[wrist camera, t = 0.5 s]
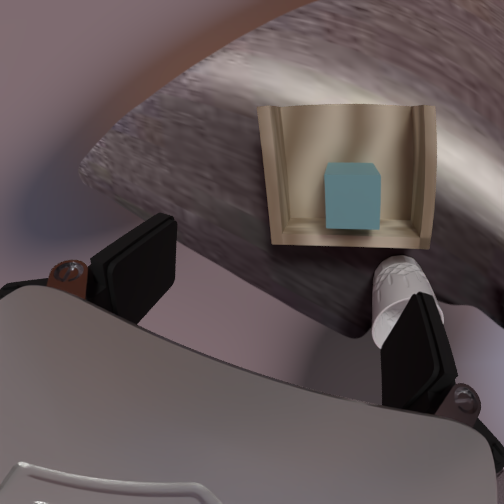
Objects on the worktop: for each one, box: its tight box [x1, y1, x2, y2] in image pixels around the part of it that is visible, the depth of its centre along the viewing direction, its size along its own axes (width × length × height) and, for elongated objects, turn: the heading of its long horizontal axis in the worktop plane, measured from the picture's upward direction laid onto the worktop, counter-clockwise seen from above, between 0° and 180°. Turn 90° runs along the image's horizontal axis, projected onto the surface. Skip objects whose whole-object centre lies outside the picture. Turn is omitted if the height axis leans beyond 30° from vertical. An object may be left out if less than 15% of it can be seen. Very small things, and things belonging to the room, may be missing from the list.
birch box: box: [257, 104, 437, 249], centre depth 27 cm, size 17×14×6 cm
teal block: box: [324, 163, 381, 230], centre depth 27 cm, size 5×5×7 cm
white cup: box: [372, 255, 444, 349], centre depth 29 cm, size 8×8×10 cm
